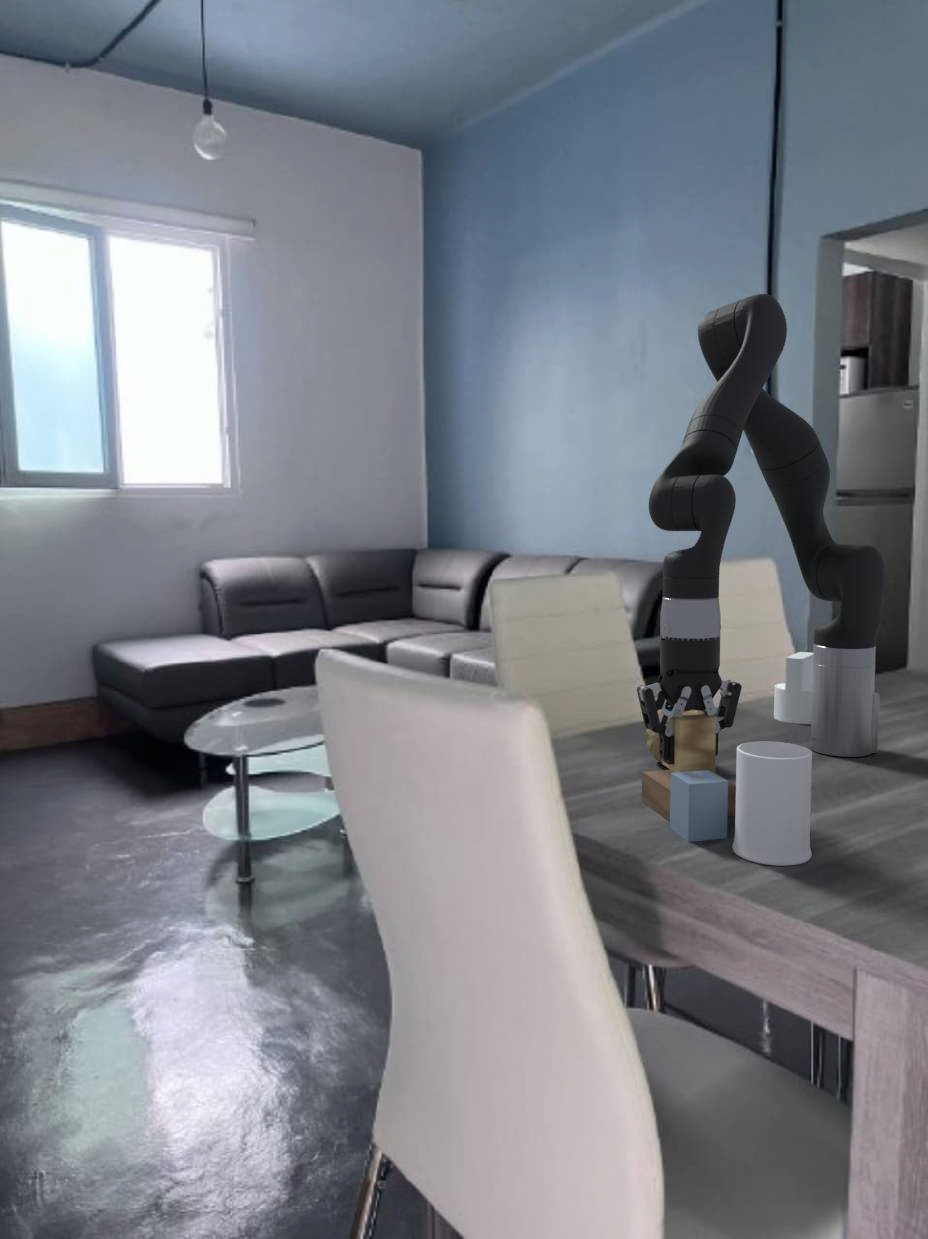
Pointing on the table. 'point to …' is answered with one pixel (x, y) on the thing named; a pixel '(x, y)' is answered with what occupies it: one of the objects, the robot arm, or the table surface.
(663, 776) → the walnut slab
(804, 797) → the mug
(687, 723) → the oak block
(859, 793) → the table surface
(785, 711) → the base with upright slab
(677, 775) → the slate block
